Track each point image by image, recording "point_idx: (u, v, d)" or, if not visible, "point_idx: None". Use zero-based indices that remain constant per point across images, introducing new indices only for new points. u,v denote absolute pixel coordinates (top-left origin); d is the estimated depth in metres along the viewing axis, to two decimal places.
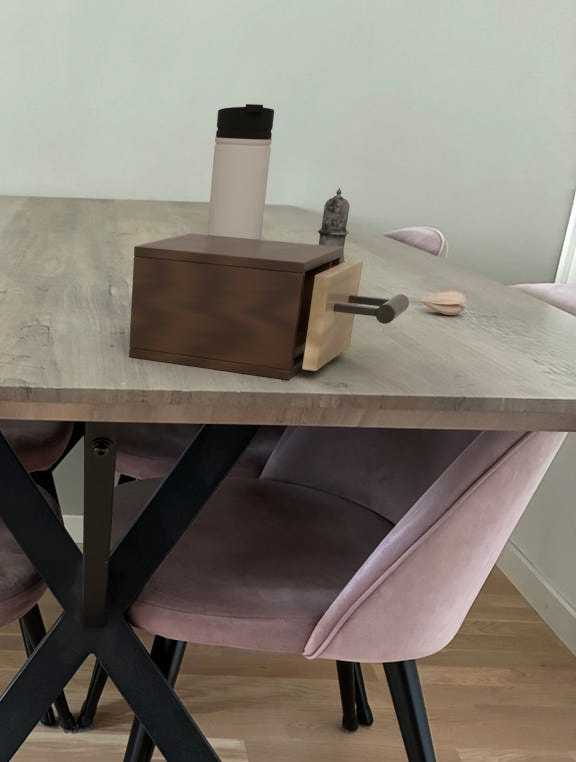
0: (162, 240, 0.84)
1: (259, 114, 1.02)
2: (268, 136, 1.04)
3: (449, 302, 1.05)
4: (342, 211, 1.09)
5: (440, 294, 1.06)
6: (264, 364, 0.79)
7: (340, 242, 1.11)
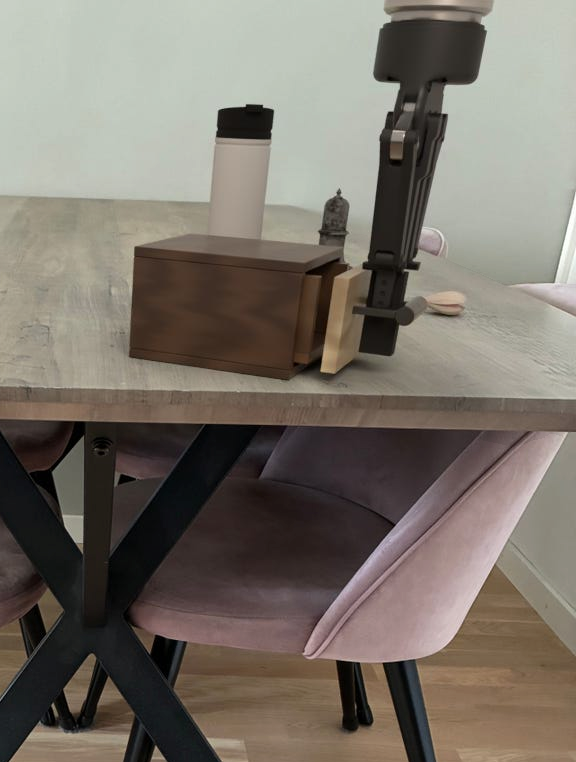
0: (162, 240, 0.84)
1: (259, 114, 1.02)
2: (268, 136, 1.04)
3: (449, 302, 1.05)
4: (342, 211, 1.09)
5: (440, 294, 1.06)
6: (264, 364, 0.79)
7: (340, 242, 1.11)
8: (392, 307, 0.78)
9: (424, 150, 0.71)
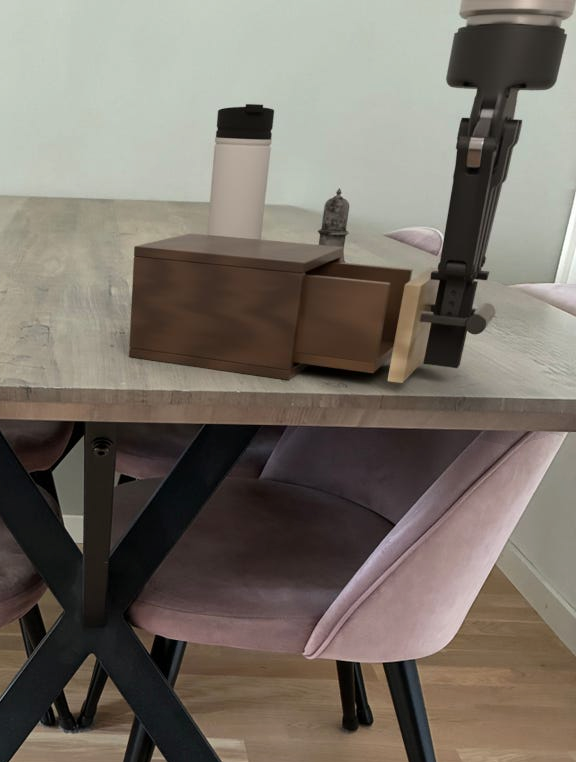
0: (162, 240, 0.84)
1: (259, 114, 1.02)
2: (268, 136, 1.04)
3: None
4: (342, 211, 1.09)
5: None
6: (264, 364, 0.79)
7: (340, 242, 1.11)
8: None
9: (499, 157, 0.69)
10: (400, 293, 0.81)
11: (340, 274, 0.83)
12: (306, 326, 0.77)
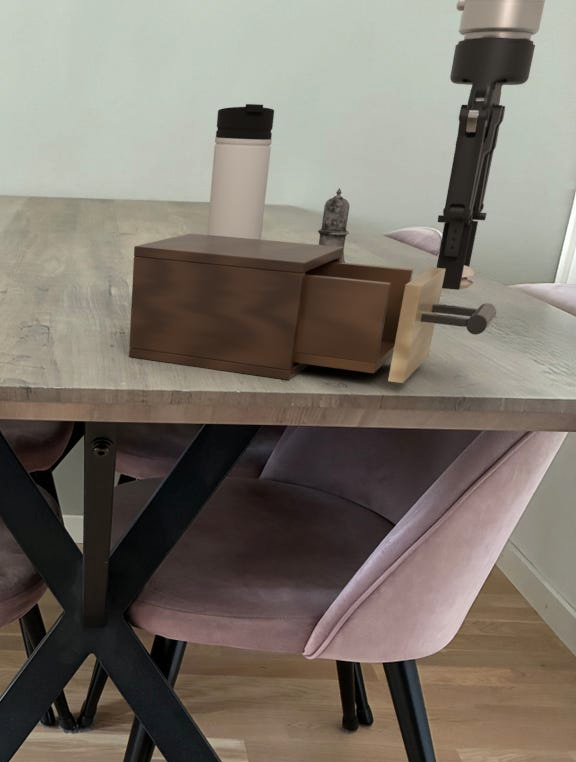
0: (162, 240, 0.84)
1: (259, 114, 1.02)
2: (268, 136, 1.04)
3: None
4: (342, 211, 1.09)
5: None
6: (264, 364, 0.79)
7: (340, 242, 1.11)
8: (460, 251, 1.02)
9: (489, 130, 0.97)
10: (401, 293, 0.81)
11: (341, 274, 0.83)
12: (307, 326, 0.77)
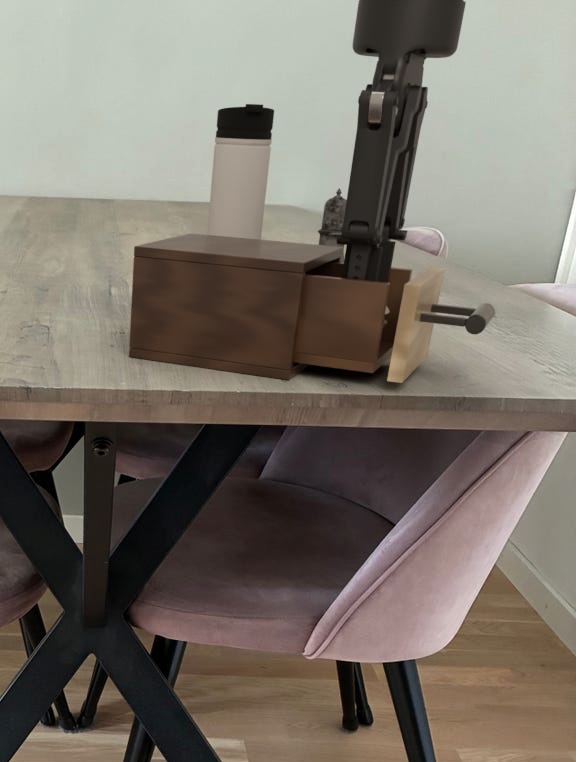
0: (162, 240, 0.84)
1: (259, 114, 1.02)
2: (268, 136, 1.04)
3: None
4: (342, 211, 1.09)
5: None
6: (264, 364, 0.79)
7: None
8: None
9: (403, 120, 0.70)
10: (400, 293, 0.81)
11: (340, 274, 0.83)
12: (306, 326, 0.77)
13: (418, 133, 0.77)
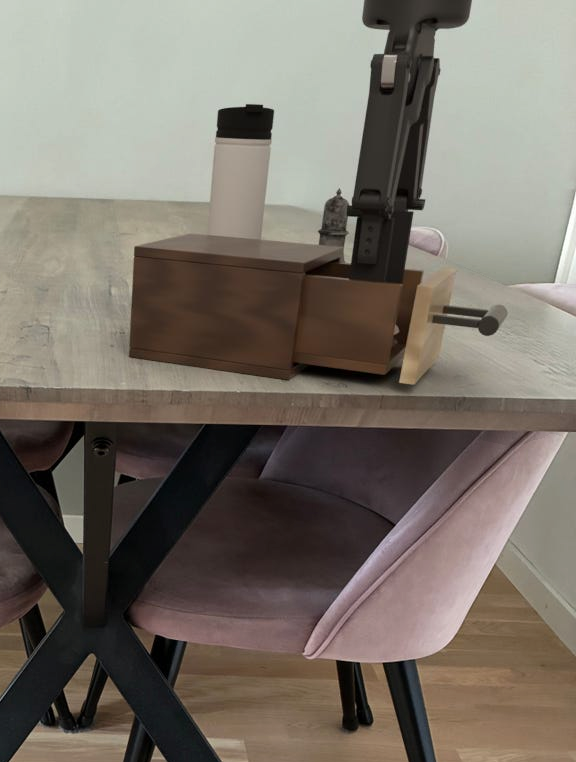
0: (162, 240, 0.84)
1: (259, 114, 1.02)
2: (268, 136, 1.04)
3: None
4: (342, 211, 1.09)
5: None
6: (264, 364, 0.79)
7: (340, 242, 1.11)
8: (380, 256, 0.73)
9: (415, 89, 0.69)
10: (411, 294, 0.81)
11: None
12: (317, 327, 0.77)
13: (432, 102, 0.76)
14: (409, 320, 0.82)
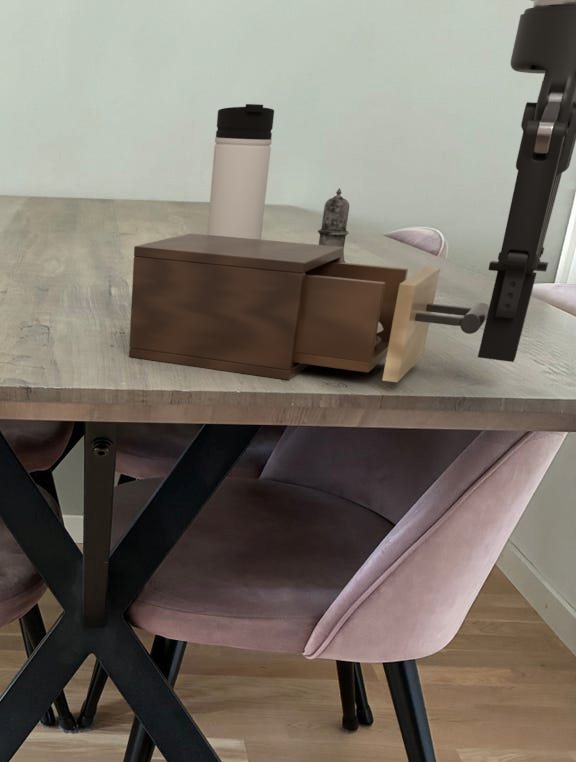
0: (162, 240, 0.84)
1: (259, 114, 1.02)
2: (268, 136, 1.04)
3: None
4: (342, 211, 1.09)
5: None
6: (264, 364, 0.79)
7: (340, 242, 1.11)
8: (518, 310, 0.74)
9: (565, 144, 0.67)
10: (395, 293, 0.82)
11: (335, 274, 0.83)
12: (301, 325, 0.77)
13: None
14: None
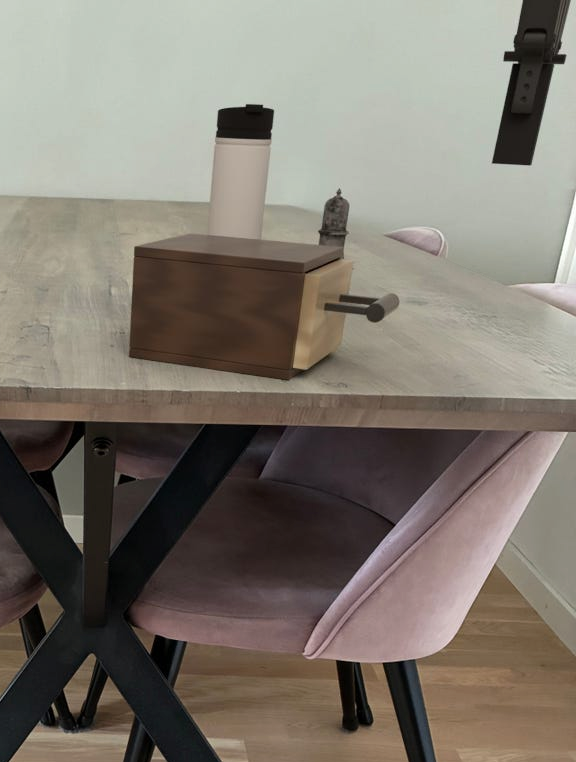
0: (162, 240, 0.84)
1: (259, 114, 1.02)
2: (268, 136, 1.04)
3: None
4: (342, 211, 1.09)
5: None
6: (264, 364, 0.79)
7: (340, 242, 1.11)
8: (535, 106, 0.69)
9: None
10: None
11: None
12: None
13: None
14: None
